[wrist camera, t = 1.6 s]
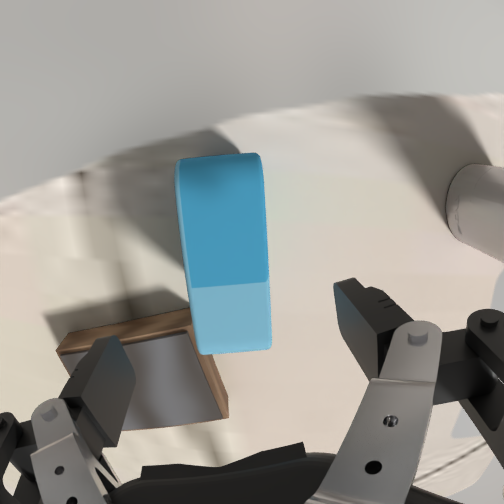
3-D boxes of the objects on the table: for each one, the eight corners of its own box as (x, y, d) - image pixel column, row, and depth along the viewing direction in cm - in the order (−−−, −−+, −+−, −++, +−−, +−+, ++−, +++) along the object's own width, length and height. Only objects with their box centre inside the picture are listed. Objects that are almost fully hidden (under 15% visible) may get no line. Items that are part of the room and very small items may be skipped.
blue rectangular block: (256, 284, 31) (273, 359, 19) (207, 288, 30) (199, 365, 19) (247, 153, 27) (262, 152, 16) (194, 157, 27) (171, 160, 15)
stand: (194, 306, 31) (190, 327, 27) (228, 396, 34) (228, 420, 31) (68, 333, 31) (54, 352, 27) (113, 412, 34) (105, 434, 31)
